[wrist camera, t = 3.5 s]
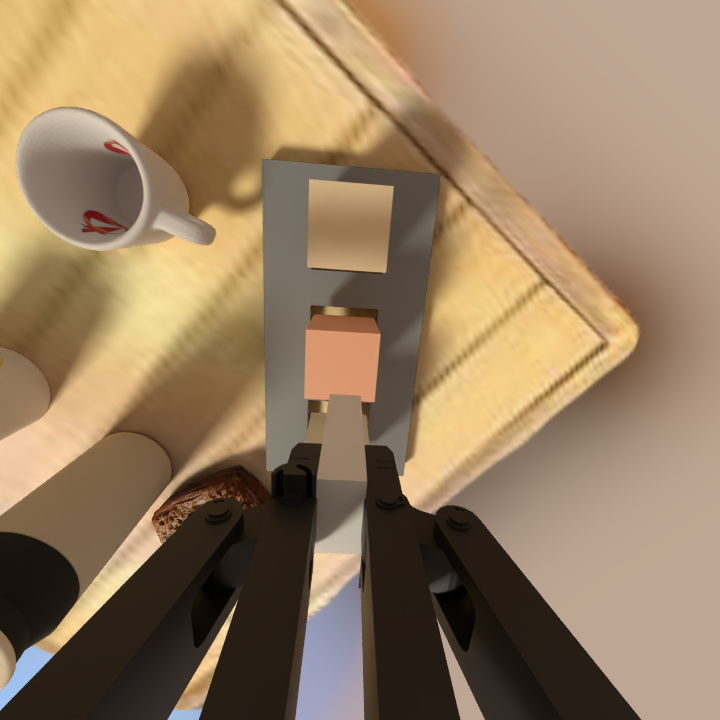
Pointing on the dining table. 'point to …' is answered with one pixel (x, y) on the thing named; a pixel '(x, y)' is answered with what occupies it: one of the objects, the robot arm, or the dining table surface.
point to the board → (342, 299)
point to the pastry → (208, 498)
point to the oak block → (349, 225)
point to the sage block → (318, 425)
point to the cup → (102, 184)
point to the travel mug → (71, 535)
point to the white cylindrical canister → (20, 392)
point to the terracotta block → (341, 357)
